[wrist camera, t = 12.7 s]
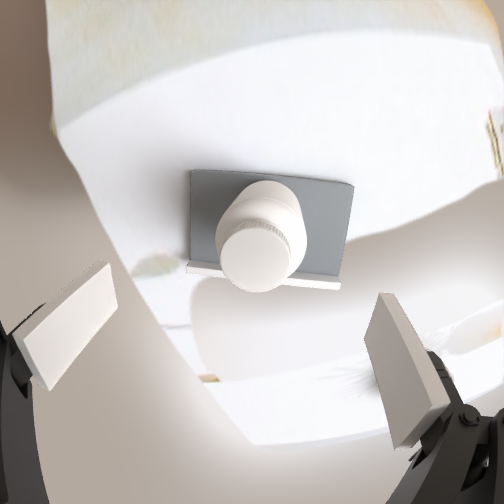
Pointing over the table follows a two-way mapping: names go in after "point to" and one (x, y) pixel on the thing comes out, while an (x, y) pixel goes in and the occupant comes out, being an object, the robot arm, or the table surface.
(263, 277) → the pill bottle
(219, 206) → the shelf
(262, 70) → the table surface
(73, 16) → the table surface
